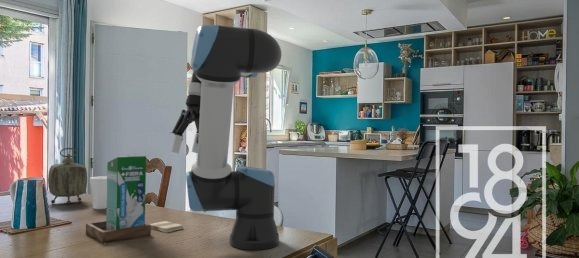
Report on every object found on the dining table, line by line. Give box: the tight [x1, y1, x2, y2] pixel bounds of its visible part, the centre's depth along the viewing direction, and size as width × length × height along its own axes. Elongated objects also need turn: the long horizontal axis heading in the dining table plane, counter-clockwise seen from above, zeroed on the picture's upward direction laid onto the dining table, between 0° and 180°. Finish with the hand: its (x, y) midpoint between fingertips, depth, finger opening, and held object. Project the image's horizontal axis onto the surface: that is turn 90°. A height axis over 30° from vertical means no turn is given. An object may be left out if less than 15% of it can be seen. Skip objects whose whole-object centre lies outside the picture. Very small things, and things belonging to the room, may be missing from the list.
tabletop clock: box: [47, 147, 88, 205], centre depth 181 cm, size 14×9×25 cm, turn 130°
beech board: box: [149, 220, 184, 233], centre depth 140 cm, size 10×7×1 cm
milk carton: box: [105, 154, 147, 231], centre depth 130 cm, size 9×9×25 cm
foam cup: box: [89, 175, 107, 210], centre depth 173 cm, size 10×9×13 cm
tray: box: [85, 220, 152, 245], centre depth 130 cm, size 15×15×3 cm
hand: (184, 152), depth 144 cm, fingers open, 13 cm apart
